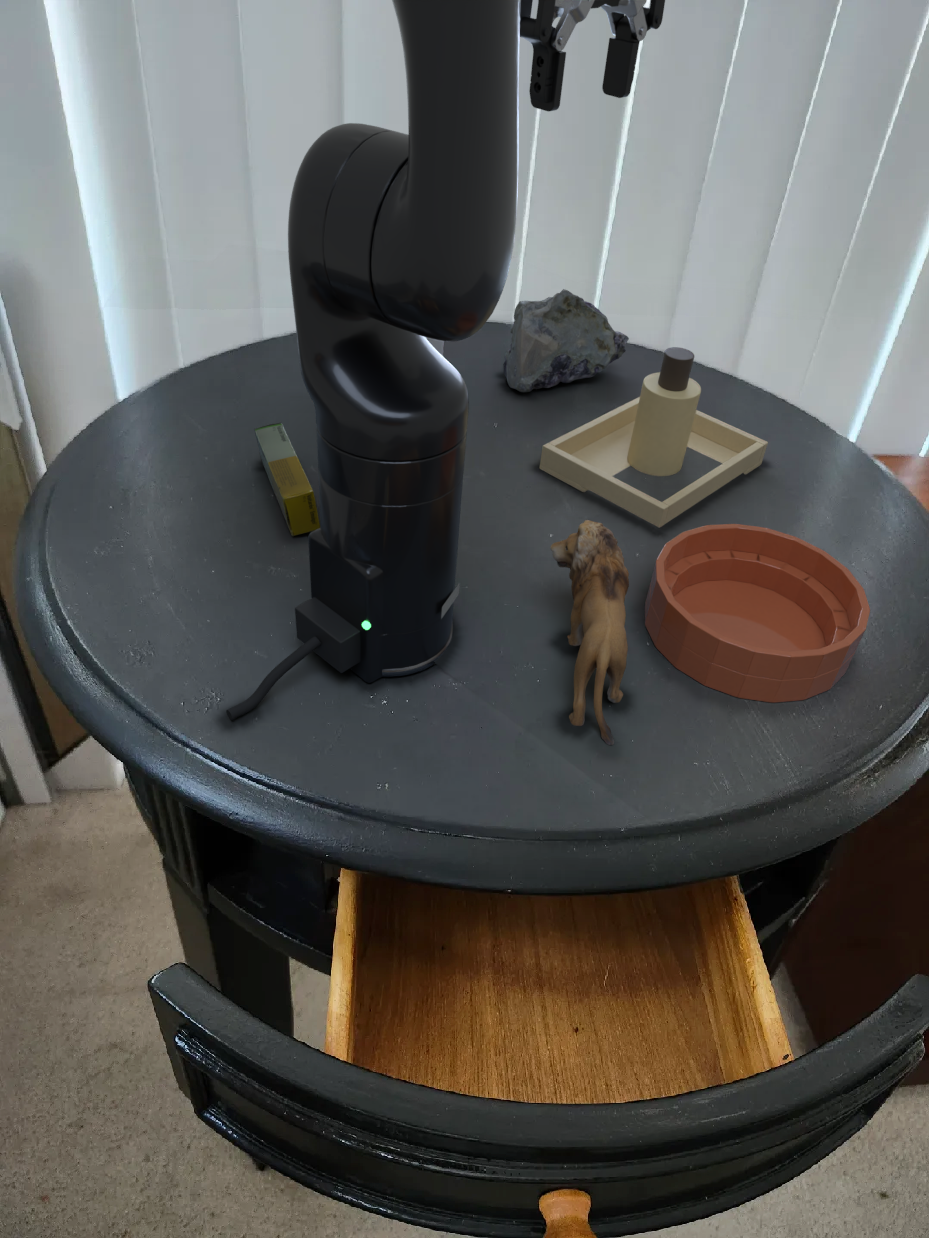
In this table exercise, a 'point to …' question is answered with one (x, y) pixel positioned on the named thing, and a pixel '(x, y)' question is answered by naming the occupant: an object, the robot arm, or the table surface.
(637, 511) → the tray
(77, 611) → the table surface
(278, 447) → the medication box
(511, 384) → the mineral rock
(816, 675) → the bowl
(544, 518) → the table surface
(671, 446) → the bottle
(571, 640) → the lion figurine
